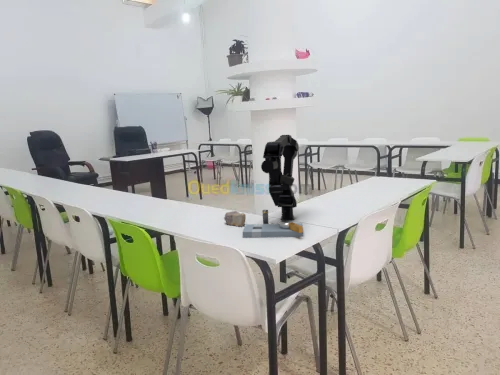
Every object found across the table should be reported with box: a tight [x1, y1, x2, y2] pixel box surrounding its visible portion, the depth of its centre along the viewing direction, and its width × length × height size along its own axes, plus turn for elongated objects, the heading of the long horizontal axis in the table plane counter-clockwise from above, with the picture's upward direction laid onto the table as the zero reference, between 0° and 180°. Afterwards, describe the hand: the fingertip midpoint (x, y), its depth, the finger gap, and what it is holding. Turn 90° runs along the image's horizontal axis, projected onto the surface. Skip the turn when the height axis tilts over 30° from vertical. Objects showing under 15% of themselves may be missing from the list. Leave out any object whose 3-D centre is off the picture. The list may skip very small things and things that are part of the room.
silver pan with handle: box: [278, 219, 304, 233], centre depth 168 cm, size 6×14×3 cm, turn 27°
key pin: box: [261, 209, 270, 224], centre depth 182 cm, size 3×3×8 cm
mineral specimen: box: [223, 210, 247, 227], centre depth 190 cm, size 13×7×6 cm, turn 56°
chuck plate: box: [242, 222, 304, 239], centre depth 173 cm, size 12×26×2 cm, turn 84°
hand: (276, 203), depth 178 cm, fingers open, 9 cm apart
